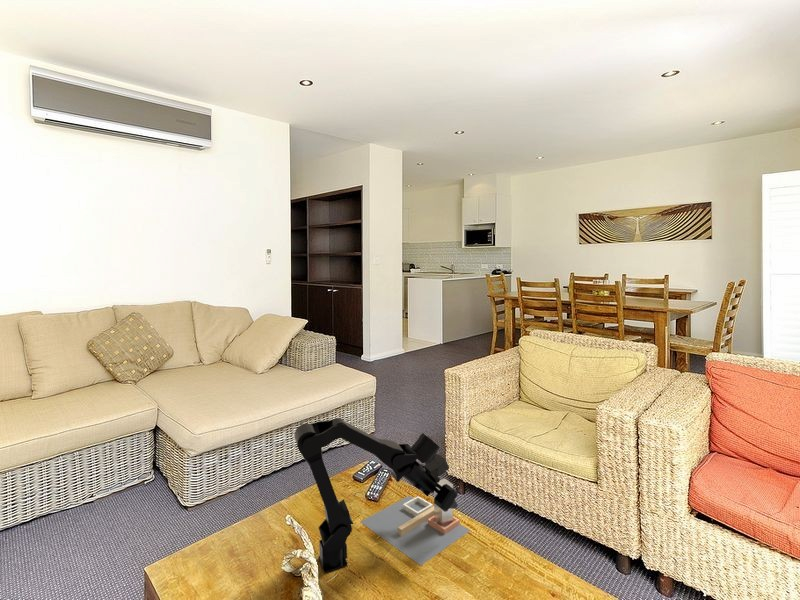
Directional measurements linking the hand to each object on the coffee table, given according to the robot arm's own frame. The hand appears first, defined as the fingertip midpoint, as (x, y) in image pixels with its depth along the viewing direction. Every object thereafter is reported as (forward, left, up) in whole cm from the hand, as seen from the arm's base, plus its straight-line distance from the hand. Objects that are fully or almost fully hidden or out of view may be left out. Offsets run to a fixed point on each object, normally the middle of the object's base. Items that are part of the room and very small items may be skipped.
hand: (447, 499), depth 131 cm
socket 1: (-5, +10, -8) cm, 14 cm away
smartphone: (-20, +22, -10) cm, 31 cm away
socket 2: (-1, 0, -8) cm, 8 cm away
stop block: (-1, 0, -8) cm, 8 cm away
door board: (-10, +3, -9) cm, 14 cm away
